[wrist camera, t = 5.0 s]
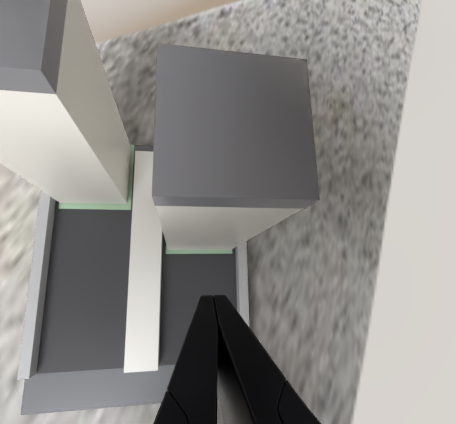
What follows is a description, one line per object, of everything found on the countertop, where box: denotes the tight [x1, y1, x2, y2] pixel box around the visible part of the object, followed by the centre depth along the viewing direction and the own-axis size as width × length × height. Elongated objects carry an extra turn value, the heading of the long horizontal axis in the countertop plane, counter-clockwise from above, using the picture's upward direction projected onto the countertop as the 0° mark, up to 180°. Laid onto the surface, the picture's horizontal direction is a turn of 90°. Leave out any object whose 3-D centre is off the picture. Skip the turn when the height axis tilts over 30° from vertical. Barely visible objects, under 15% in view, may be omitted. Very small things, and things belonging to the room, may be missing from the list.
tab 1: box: [0, 0, 131, 204], centre depth 11 cm, size 4×4×11 cm
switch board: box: [17, 144, 249, 415], centre depth 16 cm, size 14×11×2 cm
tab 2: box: [152, 43, 320, 250], centre depth 12 cm, size 4×4×11 cm
